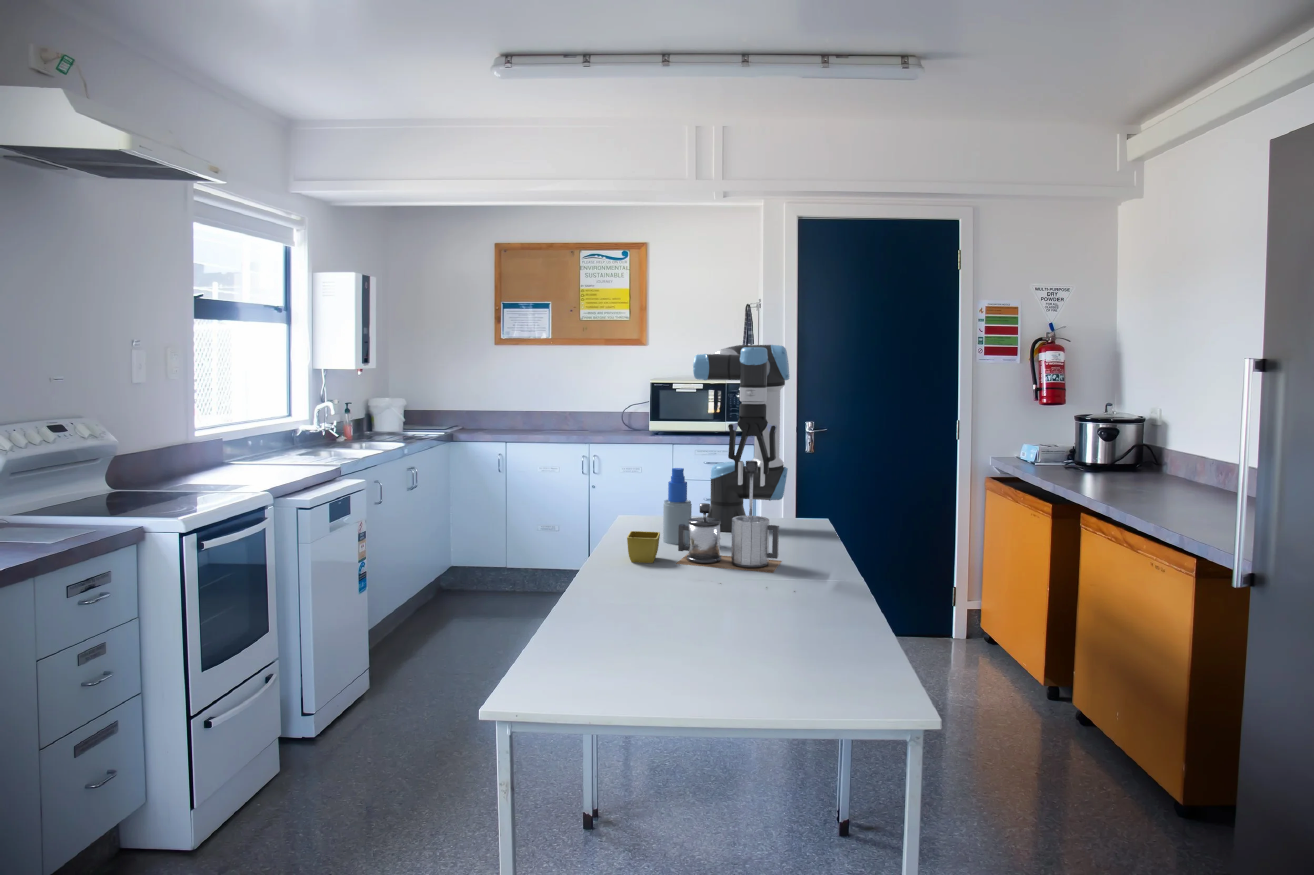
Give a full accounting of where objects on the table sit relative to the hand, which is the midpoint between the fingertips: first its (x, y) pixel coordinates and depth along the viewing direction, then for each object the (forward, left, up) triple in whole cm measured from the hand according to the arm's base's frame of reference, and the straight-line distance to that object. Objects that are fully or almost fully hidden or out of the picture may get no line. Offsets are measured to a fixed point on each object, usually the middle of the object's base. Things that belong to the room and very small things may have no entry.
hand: (751, 484), depth 228 cm
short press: (0, -15, -23) cm, 27 cm away
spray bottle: (-20, -28, -25) cm, 42 cm away
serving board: (0, -6, -24) cm, 25 cm away
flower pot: (+6, -30, -25) cm, 39 cm away
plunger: (0, 0, -12) cm, 12 cm away
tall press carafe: (0, +1, -23) cm, 23 cm away
